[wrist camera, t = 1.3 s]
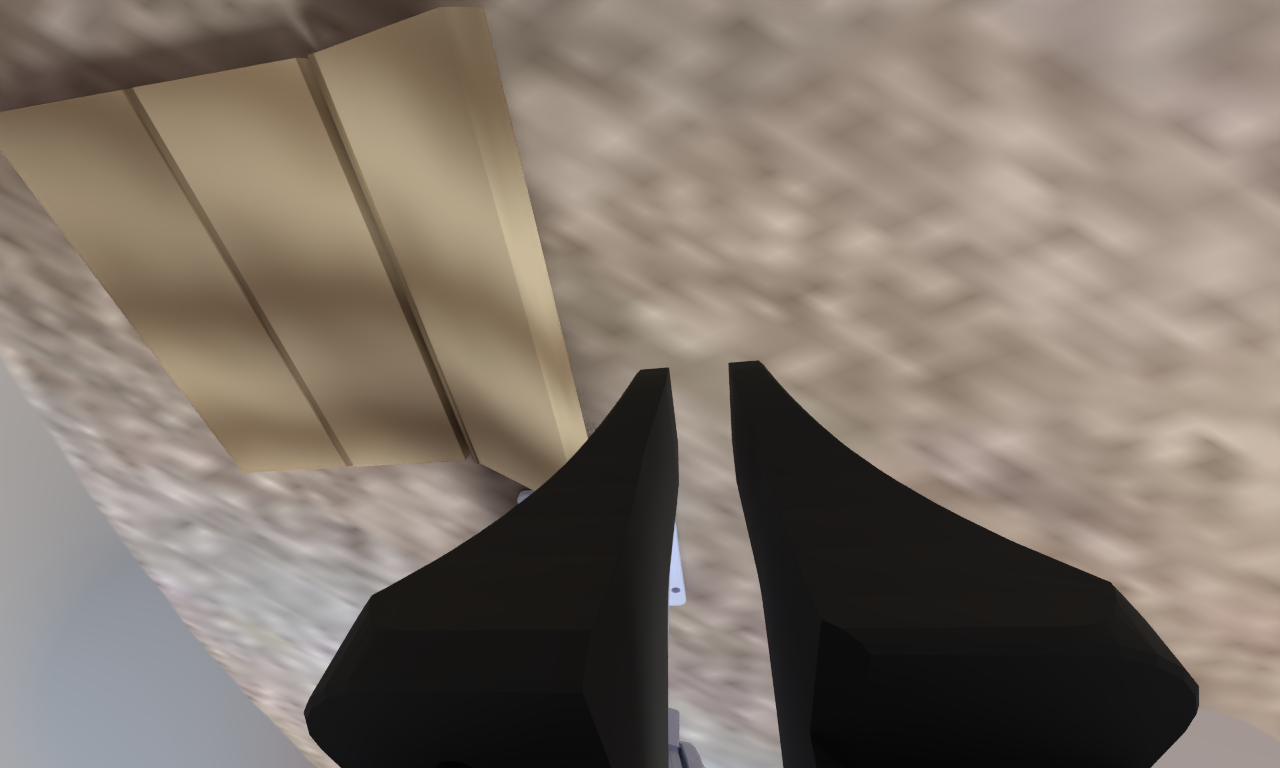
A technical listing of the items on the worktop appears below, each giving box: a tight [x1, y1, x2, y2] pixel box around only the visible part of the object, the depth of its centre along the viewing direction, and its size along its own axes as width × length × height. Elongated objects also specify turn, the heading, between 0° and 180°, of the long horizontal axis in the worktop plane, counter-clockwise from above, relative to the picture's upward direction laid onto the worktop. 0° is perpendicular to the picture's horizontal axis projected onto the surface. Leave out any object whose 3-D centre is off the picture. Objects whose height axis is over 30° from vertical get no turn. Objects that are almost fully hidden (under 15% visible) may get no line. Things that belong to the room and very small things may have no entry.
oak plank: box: [307, 7, 588, 491], centre depth 17 cm, size 16×7×1 cm
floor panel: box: [0, 58, 470, 473], centre depth 20 cm, size 16×12×1 cm
